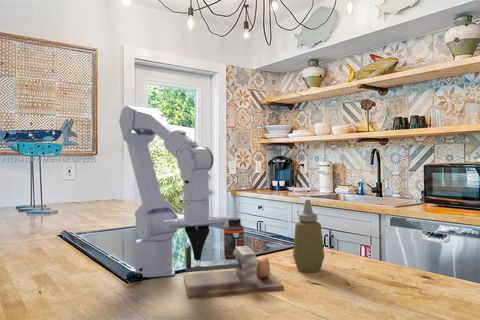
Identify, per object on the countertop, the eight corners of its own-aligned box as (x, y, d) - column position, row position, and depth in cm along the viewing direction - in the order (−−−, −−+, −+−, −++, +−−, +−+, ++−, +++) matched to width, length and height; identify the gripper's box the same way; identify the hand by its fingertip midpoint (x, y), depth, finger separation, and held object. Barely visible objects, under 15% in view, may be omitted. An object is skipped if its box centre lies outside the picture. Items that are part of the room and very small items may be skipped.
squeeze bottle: (327, 267, 98) (326, 198, 98) (320, 276, 91) (319, 202, 91) (298, 263, 102) (296, 198, 102) (289, 272, 94) (287, 201, 94)
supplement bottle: (242, 259, 107) (241, 220, 107) (222, 258, 108) (221, 219, 108) (246, 254, 113) (245, 217, 113) (226, 253, 114) (226, 216, 114)
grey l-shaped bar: (186, 273, 82) (186, 248, 82) (185, 266, 87) (184, 243, 87) (252, 267, 85) (252, 243, 85) (247, 261, 90) (247, 239, 90)
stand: (188, 298, 78) (187, 262, 78) (183, 277, 91) (182, 247, 91) (283, 289, 82) (283, 255, 82) (265, 270, 96) (265, 241, 96)
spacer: (259, 260, 86) (269, 260, 87) (254, 256, 90) (264, 256, 91) (260, 280, 86) (270, 279, 87) (255, 275, 90) (264, 274, 91)
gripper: (164, 203, 80) (165, 266, 80) (230, 200, 83) (231, 261, 83) (163, 199, 87) (164, 258, 87) (225, 197, 90) (226, 253, 90)
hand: (197, 259), depth 85 cm, fingers closed
